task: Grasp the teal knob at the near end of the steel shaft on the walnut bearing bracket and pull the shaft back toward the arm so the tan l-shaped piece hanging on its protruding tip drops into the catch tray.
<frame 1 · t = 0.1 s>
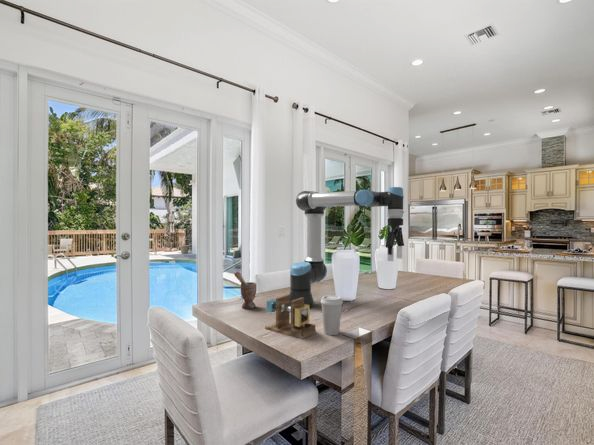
hand: (395, 259, 157), 28 cm above the table, fingers open, 13 cm apart
coffee cup: (331, 332, 132), on the table
mortar and pestle: (245, 308, 169), on the table
shaft: (287, 308, 136), point 9 cm above the table, slide at 0.0 cm, touching tan l-shaped piece
tan l-shaped piece: (302, 315, 131), point 8 cm above the table, touching shaft
bracket: (290, 330, 135), on the table
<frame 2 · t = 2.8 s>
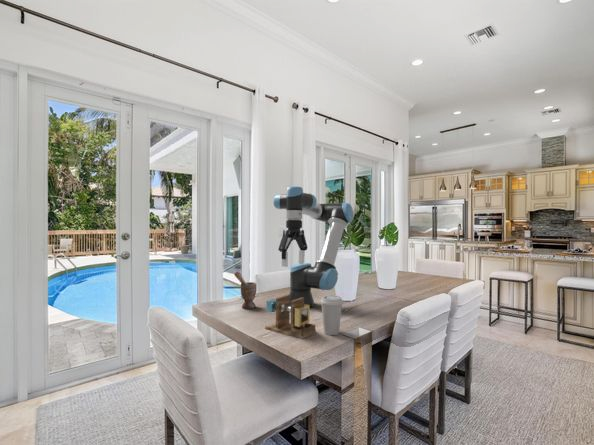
hand: (293, 265, 146), 27 cm above the table, fingers open, 13 cm apart
nothing on the table moved.
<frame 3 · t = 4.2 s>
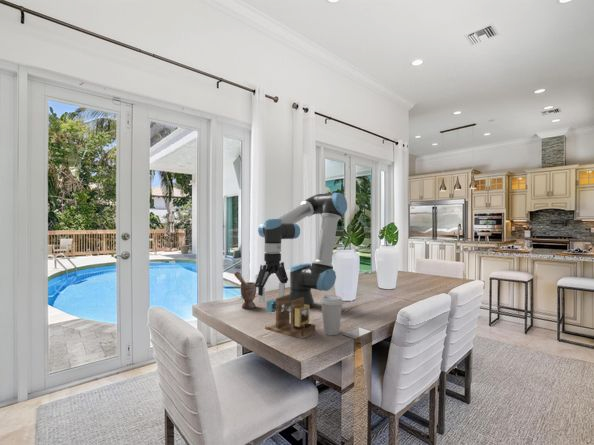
hand: (272, 299, 140), 12 cm above the table, fingers open, 13 cm apart
nothing on the table moved.
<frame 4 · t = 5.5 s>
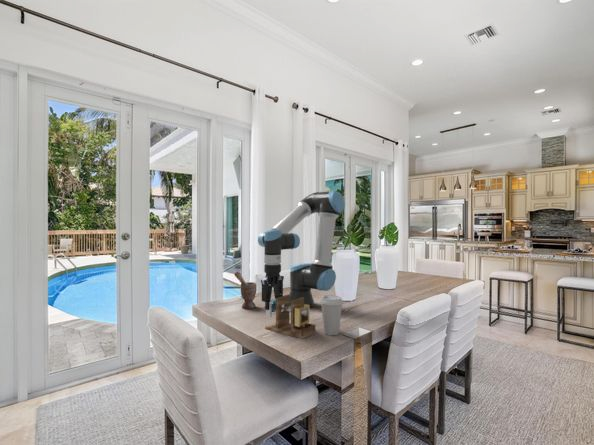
hand: (272, 315, 141), 5 cm above the table, fingers closed on shaft, 5 cm apart
shaft: (287, 308, 136), point 9 cm above the table, slide at 0.0 cm, touching gripper, tan l-shaped piece
everything else where it was.
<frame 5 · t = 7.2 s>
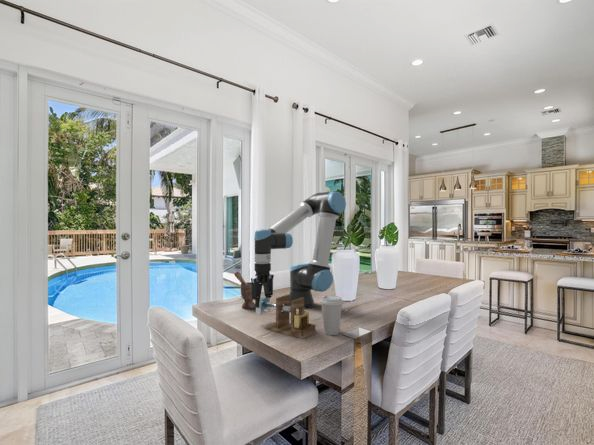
hand: (262, 312, 144), 5 cm above the table, fingers closed on shaft, 5 cm apart
shaft: (276, 306, 139), point 9 cm above the table, slide at 6.1 cm, touching gripper
tan l-shaped piece: (301, 322, 131), point 5 cm above the table, touching bracket
everything else where it was.
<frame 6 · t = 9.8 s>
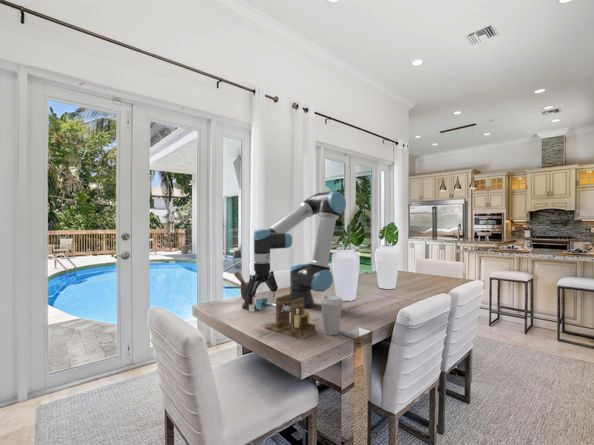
hand: (262, 308, 145), 7 cm above the table, fingers open, 13 cm apart
shaft: (276, 306, 140), point 9 cm above the table, slide at 6.4 cm
everything else where it was.
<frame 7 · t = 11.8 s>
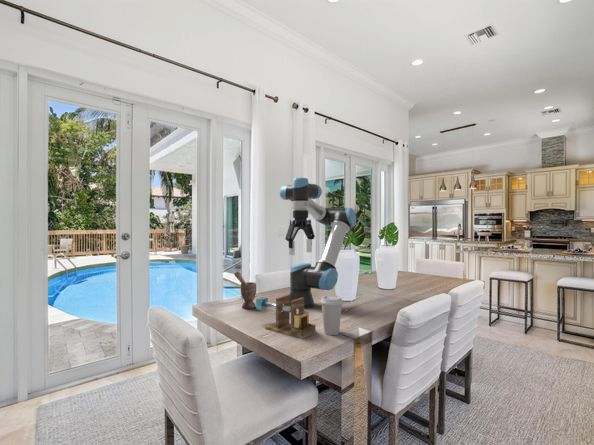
hand: (300, 253, 151), 31 cm above the table, fingers open, 13 cm apart
nothing on the table moved.
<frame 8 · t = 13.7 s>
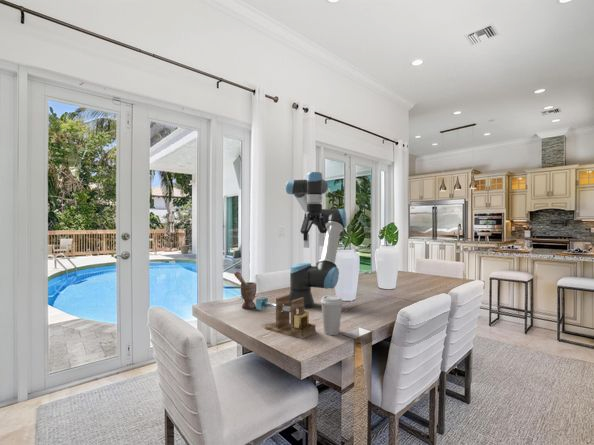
hand: (314, 246, 154), 35 cm above the table, fingers open, 13 cm apart
nothing on the table moved.
at the end: shaft slide at 6.4 cm; tan l-shaped piece point 4.7 cm above the table; the gripper is holding nothing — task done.
